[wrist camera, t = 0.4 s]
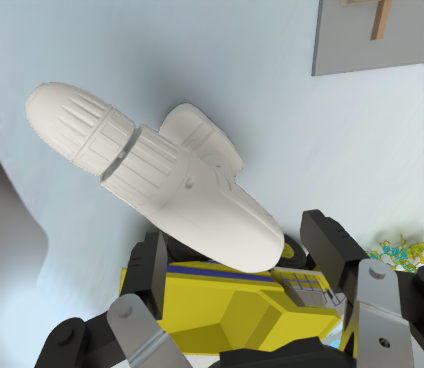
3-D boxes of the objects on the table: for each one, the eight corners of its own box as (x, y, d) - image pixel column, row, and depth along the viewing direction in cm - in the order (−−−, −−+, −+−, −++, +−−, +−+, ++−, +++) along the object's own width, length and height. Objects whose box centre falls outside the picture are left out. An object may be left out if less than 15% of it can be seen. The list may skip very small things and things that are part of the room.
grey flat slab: (306, 312, 70) (320, 342, 62) (300, 311, 69) (314, 340, 62) (349, 272, 62) (370, 300, 55) (343, 270, 61) (364, 298, 54)
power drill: (143, 49, 32) (52, 27, 10) (250, 157, 42) (321, 263, 20) (109, 95, 34) (-25, 157, 12) (218, 186, 44) (250, 310, 22)
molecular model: (554, 301, 37) (500, 369, 40) (440, 246, 58) (410, 293, 61) (420, 249, 39) (378, 318, 41) (357, 213, 60) (331, 261, 62)
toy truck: (140, 204, 44) (111, 297, 27) (313, 232, 53) (374, 316, 36) (128, 282, 55) (102, 384, 38) (274, 294, 63) (307, 382, 46)
